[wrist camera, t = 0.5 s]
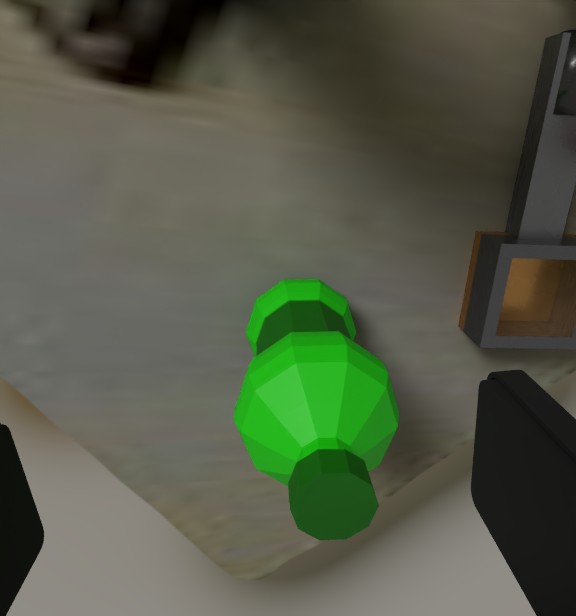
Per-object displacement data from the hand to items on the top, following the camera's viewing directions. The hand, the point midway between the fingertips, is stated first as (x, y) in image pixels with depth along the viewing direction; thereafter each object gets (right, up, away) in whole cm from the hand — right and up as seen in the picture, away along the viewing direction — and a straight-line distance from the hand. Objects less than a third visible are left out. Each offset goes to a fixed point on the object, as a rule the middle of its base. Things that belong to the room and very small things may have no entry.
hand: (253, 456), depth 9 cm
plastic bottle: (+2, +2, +37) cm, 37 cm away
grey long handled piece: (+23, +13, +34) cm, 43 cm away
